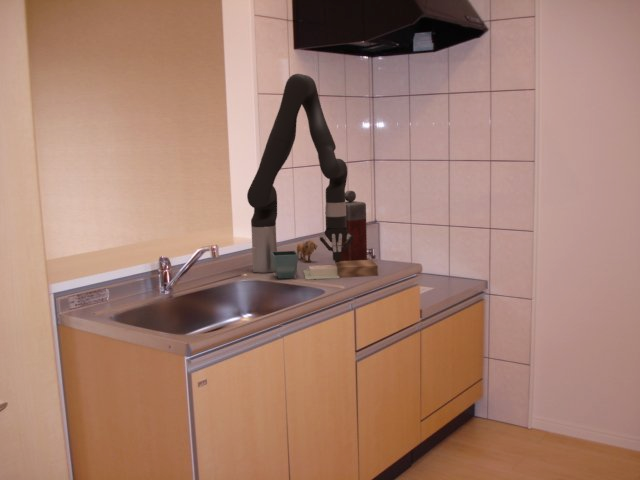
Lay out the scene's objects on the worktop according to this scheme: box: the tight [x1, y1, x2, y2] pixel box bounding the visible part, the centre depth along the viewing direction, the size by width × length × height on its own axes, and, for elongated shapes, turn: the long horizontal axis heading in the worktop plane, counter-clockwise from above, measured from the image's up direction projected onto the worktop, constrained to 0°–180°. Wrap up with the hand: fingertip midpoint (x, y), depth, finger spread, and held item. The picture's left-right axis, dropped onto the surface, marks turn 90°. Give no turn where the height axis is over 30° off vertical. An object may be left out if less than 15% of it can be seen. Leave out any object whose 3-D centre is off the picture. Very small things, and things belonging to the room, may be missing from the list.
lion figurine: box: [296, 239, 318, 263], centre depth 291 cm, size 15×5×9 cm, turn 34°
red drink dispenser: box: [336, 190, 368, 261], centre depth 287 cm, size 9×11×28 cm
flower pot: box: [271, 250, 299, 280], centre depth 259 cm, size 9×9×9 cm
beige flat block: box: [308, 264, 338, 276], centre depth 263 cm, size 10×6×2 cm, turn 94°
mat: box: [302, 269, 341, 281], centre depth 263 cm, size 12×16×1 cm
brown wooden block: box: [334, 259, 379, 278], centre depth 264 cm, size 14×12×4 cm
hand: (337, 261), depth 263 cm, fingers closed
